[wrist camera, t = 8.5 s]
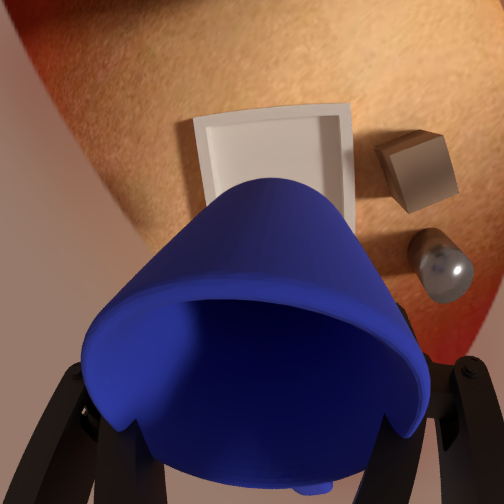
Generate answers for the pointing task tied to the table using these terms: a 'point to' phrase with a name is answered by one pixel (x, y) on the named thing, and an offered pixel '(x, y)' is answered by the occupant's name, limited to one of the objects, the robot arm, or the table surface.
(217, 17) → the table surface
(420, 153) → the walnut block
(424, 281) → the tin
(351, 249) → the mug
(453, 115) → the table surface
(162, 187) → the table surface
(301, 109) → the tray
